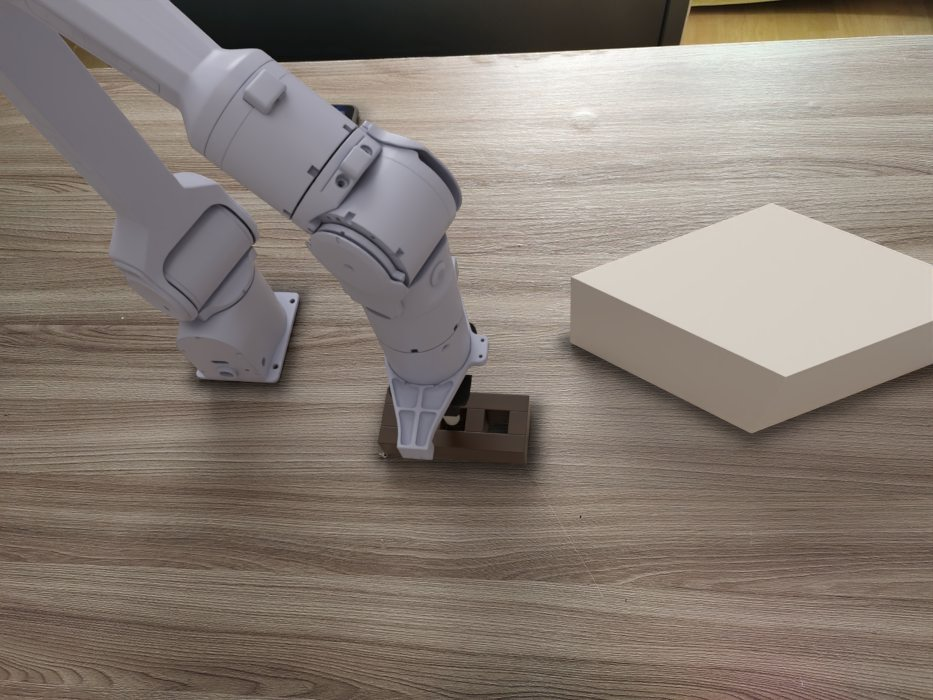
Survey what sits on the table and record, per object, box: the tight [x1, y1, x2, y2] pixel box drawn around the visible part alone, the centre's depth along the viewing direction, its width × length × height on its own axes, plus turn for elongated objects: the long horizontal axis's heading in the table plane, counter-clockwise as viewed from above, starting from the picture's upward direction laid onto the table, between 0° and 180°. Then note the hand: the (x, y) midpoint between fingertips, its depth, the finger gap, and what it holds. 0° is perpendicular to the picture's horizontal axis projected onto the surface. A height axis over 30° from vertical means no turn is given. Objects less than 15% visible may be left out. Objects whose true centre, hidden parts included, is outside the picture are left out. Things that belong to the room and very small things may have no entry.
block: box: [569, 202, 933, 434], centre depth 58 cm, size 15×30×11 cm, turn 83°
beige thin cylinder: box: [443, 415, 460, 426], centre depth 57 cm, size 1×1×8 cm
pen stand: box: [377, 386, 532, 466], centre depth 61 cm, size 5×12×3 cm, turn 83°
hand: (447, 401), depth 57 cm, fingers closed on beige thin cylinder, 1 cm apart
